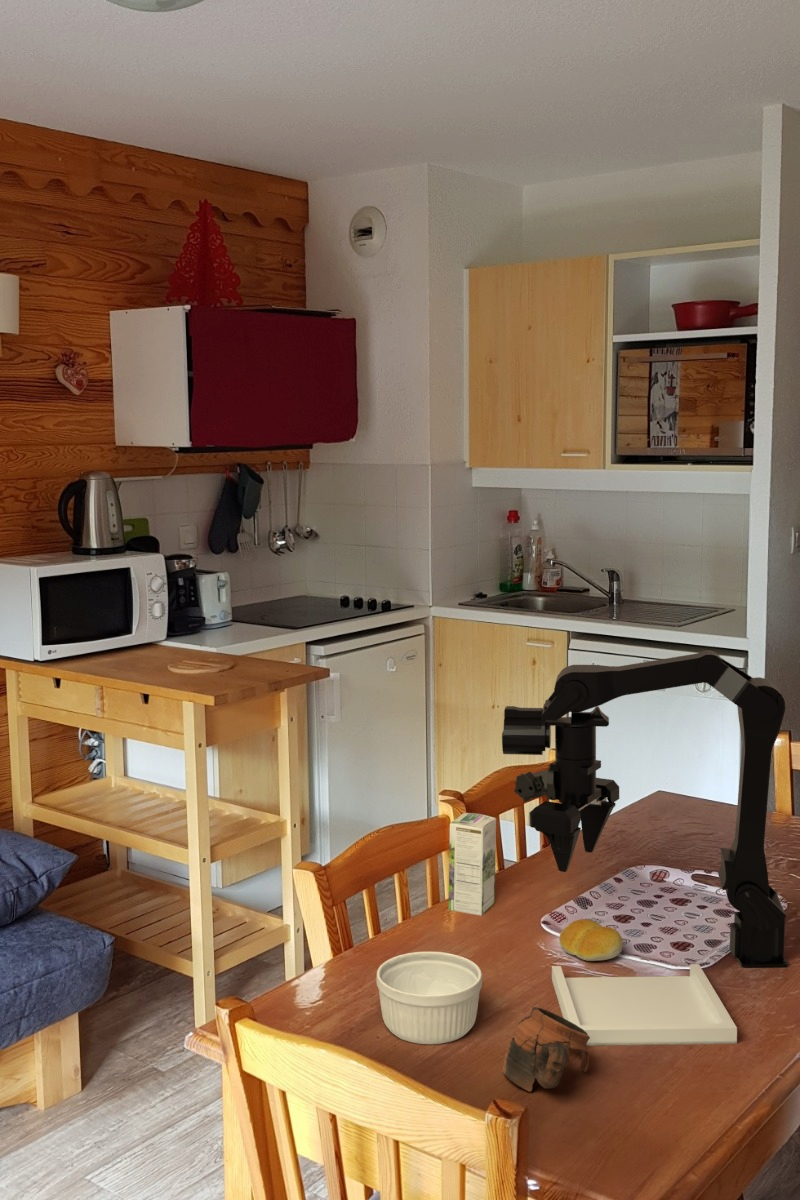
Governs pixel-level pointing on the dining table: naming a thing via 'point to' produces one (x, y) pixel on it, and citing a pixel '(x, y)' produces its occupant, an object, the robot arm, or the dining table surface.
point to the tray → (645, 1009)
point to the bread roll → (590, 940)
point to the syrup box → (472, 863)
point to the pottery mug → (543, 1049)
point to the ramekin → (429, 996)
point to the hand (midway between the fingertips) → (576, 861)
